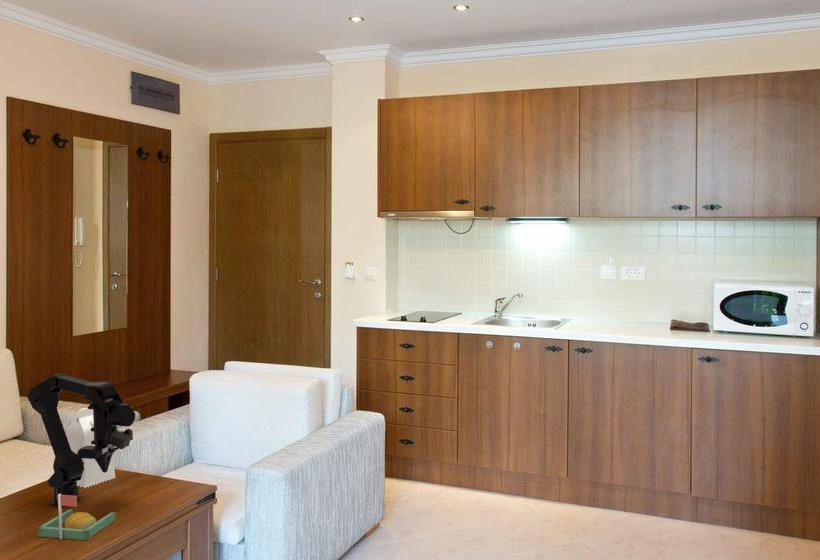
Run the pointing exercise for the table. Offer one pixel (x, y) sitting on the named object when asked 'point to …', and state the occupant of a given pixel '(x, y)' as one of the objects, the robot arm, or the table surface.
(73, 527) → the bread roll
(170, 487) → the table surface
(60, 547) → the table surface
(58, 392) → the robot arm
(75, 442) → the milk
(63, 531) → the mini golf green
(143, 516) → the table surface
